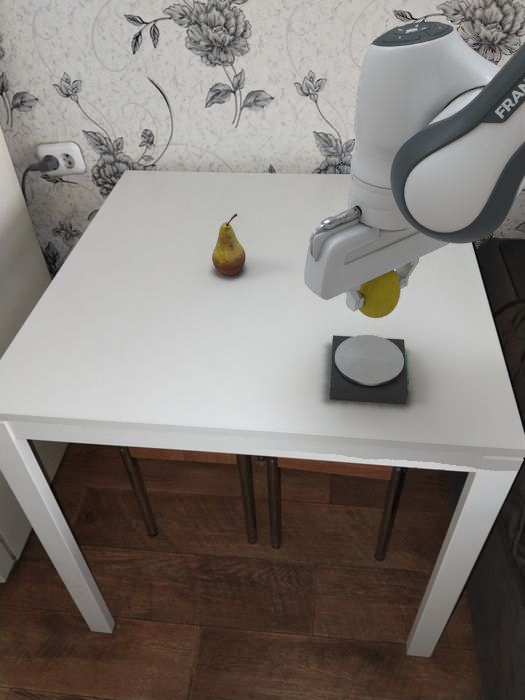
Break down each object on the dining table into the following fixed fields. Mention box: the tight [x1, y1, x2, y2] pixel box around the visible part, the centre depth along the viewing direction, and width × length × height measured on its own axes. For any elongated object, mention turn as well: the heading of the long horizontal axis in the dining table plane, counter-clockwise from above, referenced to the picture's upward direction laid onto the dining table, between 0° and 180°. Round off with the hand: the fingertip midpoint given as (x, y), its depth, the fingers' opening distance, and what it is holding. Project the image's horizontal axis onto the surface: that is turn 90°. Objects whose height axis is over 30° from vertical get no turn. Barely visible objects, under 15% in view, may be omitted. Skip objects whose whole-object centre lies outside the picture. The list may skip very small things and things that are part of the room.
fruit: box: [211, 213, 247, 276], centre depth 96 cm, size 6×6×12 cm
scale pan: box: [335, 334, 404, 386], centre depth 79 cm, size 9×9×1 cm
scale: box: [329, 334, 410, 406], centre depth 81 cm, size 10×10×3 cm
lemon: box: [358, 269, 402, 319], centre depth 71 cm, size 6×6×8 cm
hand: (376, 296), depth 72 cm, fingers closed on lemon, 5 cm apart
